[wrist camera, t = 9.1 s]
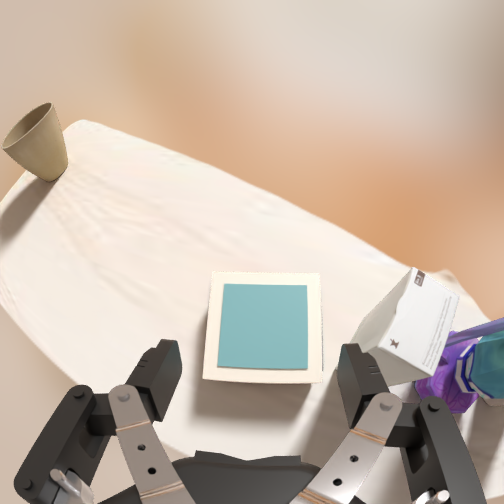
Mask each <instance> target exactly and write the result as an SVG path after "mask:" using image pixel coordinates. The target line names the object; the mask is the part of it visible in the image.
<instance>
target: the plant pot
mask: <svg viewBox="0 0 504 504" xmlns="http://www.w3.org/2000/svg"><path fill="white" fill-rule="evenodd" d="M1 148H2V149H3V150H4V151H5V152H6V153H7V154H8V155H9V156H10V157H11V158H13V159H14V160H15V161H16V162H17V163H18V164H20V165H21V166H22V167H24V168H25V169H26V170H28V171H29V172H31V173H32V174H34V175H36V176H37V177H39V178H41V179H43V180H45V181H47V182H50V181H53V180H55V179H56V178H58V177H59V176H60V175H61V174H62V173H63V172H64V171H65V169H66V168H67V165H68V158H67V152H66V147H65V143H64V138H63V134H62V131H61V127H60V124H59V120H58V117H57V114H56V111H55V108H54V105H53V103H52V102H46V103H44V104H42V105H40V106H38V107H36V108H35V109H33V110H32V111H30V112H29V113H28V114H26V115H25V116H24V117H23V118H22V119H21V120H20V121H18V122H17V124H16V125H15V126H14V127H13V128H12V129H11V130H10V131H9V133H8V134H7V136H6V137H5V138H4V140H3V142H2V145H1Z"/></svg>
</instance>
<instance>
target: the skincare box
mask: <svg viewBox="0 0 504 504" xmlns="http://www.w3.org/2000/svg"><path fill="white" fill-rule="evenodd" d="M458 300H459V295H457V294H456V293H455V292H453V291H451V290H450V289H448V288H447V287H445V286H444V285H442V284H441V283H439V282H437V281H436V280H434V279H433V278H431V277H429V276H428V275H426V274H424V273H423V272H421V271H419V270H418V269H416V268H415V267H412V268H411V270H410V271H409V272H408V273H407V274H406V275H405V276H404V277H403V278H402V280H401V281H400V282H399V283H398V284H397V285H396V286H395V287H394V288H393V289H392V290H391V291H390V292H389V294H388V295H387V296H386V297H385V298H384V299H383V300H382V301H381V302H380V303H379V304H378V305H377V306H376V307H375V308H374V309H373V310H372V311H371V312H370V313H369V314H368V315H367V316H366V317H364V319H363V320H362V322H361V324H360V326H359V327H358V329H357V331H356V333H355V335H354V336H353V338H352V340H351V342H350V344H351V343H358V344H359V346H360V348H361V351H362V353H366V352H368V353H369V354H370V355H372V356H373V357H374V358H375V360H376V362H377V364H378V367H379V369H380V371H381V373H382V375H383V377H384V380H385V382H386V384H387V386H388V387H389V386H394V385H398V384H403V383H407V382H411V381H416V380H419V379H424V378H427V377H432V376H433V375H434V373H435V370H436V368H437V365H438V363H439V360H440V358H441V355H442V352H443V349H444V347H445V344H446V341H447V338H448V335H449V332H450V329H451V325H452V322H453V319H454V315H455V312H456V308H457V304H458ZM337 368H338V365H337V366H336V368H335V369H336V370H337Z"/></svg>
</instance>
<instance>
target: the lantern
mask: <svg viewBox="0 0 504 504" xmlns="http://www.w3.org/2000/svg"><path fill="white" fill-rule="evenodd" d="M481 336H483V337H482V338H481V340H480V341H478V339H477V338H478V337H481ZM415 389H416V391H417V392H418V394H419V396H420V398H421V400H423V399H424V398H425V397H428V396H437V397H440V398H442V399H443V400H444V401H445V402H446V404H447V405H448V407H449V410H450V412H451V413H465V412H466V410H467V409H468V408H469V407H470V406H471V405H472V404H473V402H474V401H475V400H476V399H477V398H478V396H479V395H480V396H481V397H482V398H485V399H504V318H501V319H497V320H494V321H491V322H488V323H485V324H482V325H479V326H476V327H473V328H470V329H467V330H464V331H461V332H455V331H451V332H449V335H448V338H447V341H446V344H445V347H444V349H443V352H442V355H441V358H440V360H439V363H438V365H437V368H436V370H435V373H434V375H433V376H432V377H427V378H424V379H419V380H416V383H415Z"/></svg>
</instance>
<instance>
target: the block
mask: <svg viewBox="0 0 504 504" xmlns="http://www.w3.org/2000/svg"><path fill="white" fill-rule="evenodd" d="M203 379H207V380H215V381H227V382H243V383H268V384H308V383H321V382H322V316H321V290H320V273H259V272H217V271H213V273H212V282H211V291H210V301H209V310H208V320H207V331H206V342H205V354H204V366H203Z"/></svg>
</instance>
